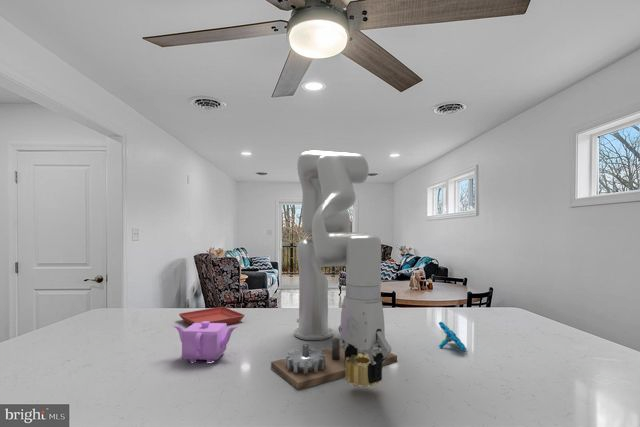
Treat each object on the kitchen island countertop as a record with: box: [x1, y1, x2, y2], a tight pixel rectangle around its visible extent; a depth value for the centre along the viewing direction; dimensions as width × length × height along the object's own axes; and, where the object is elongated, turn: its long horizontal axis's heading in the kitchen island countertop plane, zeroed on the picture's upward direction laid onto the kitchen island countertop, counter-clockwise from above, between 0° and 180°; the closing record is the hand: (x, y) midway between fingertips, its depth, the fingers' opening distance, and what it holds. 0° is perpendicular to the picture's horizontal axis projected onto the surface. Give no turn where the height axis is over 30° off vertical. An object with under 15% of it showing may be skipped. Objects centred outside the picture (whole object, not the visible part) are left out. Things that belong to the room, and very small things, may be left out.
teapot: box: [172, 321, 239, 363], centre depth 96 cm, size 18×13×10 cm
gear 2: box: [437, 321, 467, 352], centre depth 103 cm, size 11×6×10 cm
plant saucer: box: [178, 306, 246, 326], centre depth 130 cm, size 18×18×3 cm
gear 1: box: [285, 343, 325, 374], centre depth 86 cm, size 10×10×5 cm
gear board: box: [270, 337, 398, 391], centre depth 91 cm, size 30×14×6 cm, turn 123°
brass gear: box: [344, 354, 381, 388], centre depth 76 cm, size 7×7×4 cm
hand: (362, 373), depth 76 cm, fingers closed on brass gear, 7 cm apart
